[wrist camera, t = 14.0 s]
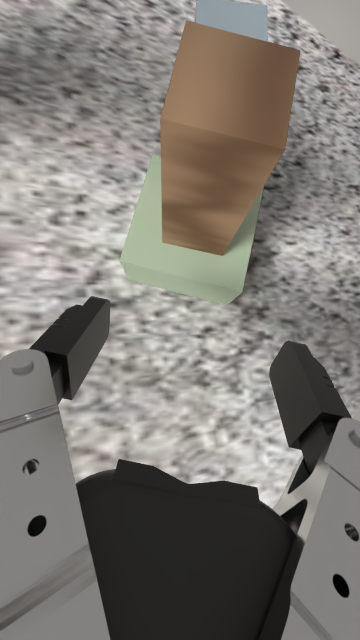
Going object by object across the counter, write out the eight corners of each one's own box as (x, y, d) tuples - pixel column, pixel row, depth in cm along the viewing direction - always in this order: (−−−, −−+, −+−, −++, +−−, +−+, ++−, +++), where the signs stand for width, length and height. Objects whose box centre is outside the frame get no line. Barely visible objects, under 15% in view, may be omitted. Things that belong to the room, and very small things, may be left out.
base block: (129, 281, 23) (119, 260, 18) (154, 194, 25) (152, 154, 20) (228, 306, 24) (245, 293, 19) (247, 219, 25) (267, 185, 20)
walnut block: (162, 242, 19) (160, 118, 9) (175, 188, 20) (186, 20, 10) (222, 256, 19) (285, 149, 9) (232, 201, 20) (300, 50, 10)
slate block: (182, 171, 25) (194, 53, 16) (184, 132, 26) (196, -4, 16) (228, 175, 26) (268, 62, 16) (228, 136, 27) (266, 5, 17)
